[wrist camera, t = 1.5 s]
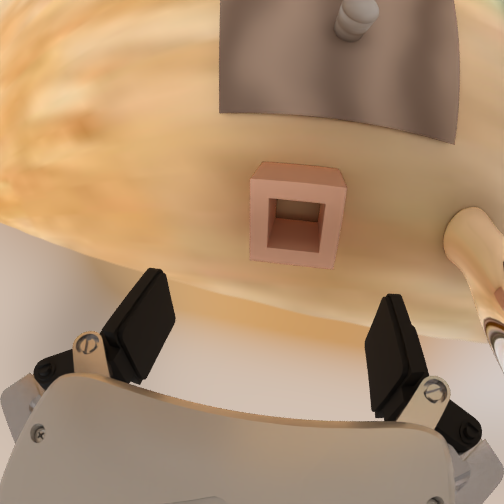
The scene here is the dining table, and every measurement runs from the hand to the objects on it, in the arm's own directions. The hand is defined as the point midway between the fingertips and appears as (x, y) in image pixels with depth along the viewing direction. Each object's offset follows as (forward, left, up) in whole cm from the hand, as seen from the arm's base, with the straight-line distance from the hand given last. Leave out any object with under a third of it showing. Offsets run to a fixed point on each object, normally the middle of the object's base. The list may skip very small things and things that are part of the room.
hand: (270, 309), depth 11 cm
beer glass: (-18, +1, -13) cm, 22 cm away
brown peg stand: (-4, -14, -13) cm, 19 cm away
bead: (-1, 0, -13) cm, 13 cm away
